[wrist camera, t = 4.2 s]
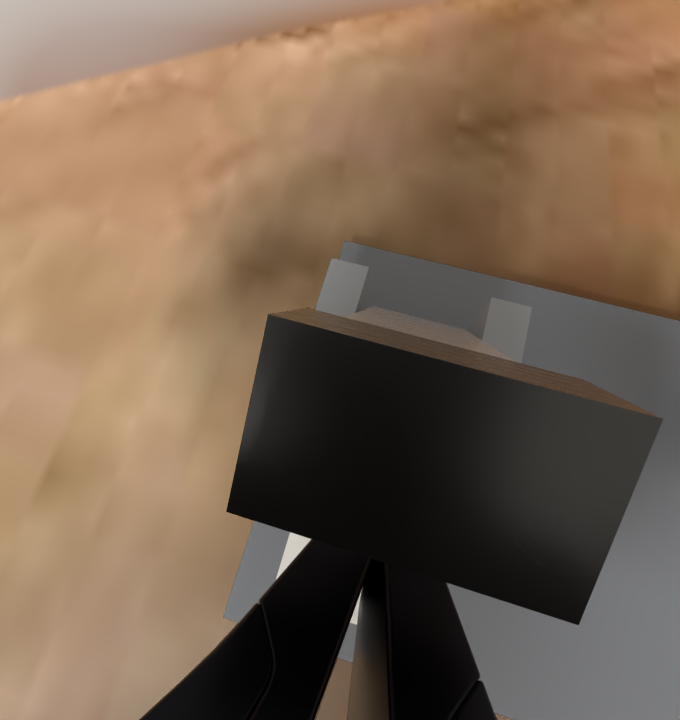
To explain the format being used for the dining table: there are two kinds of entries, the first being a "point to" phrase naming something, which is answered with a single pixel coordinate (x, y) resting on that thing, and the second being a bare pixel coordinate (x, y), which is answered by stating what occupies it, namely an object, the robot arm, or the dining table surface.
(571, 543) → the lever
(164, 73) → the dining table surface
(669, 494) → the switch box
